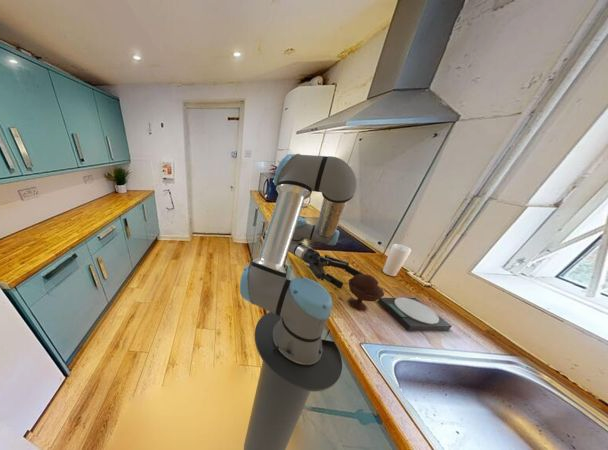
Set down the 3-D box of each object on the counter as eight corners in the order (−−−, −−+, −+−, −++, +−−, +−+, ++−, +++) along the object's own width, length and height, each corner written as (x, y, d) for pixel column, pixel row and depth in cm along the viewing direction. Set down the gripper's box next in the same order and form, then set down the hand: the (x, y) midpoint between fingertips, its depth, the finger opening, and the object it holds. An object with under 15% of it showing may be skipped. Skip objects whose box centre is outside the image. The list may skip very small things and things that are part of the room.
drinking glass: (385, 268, 102) (397, 242, 96) (401, 276, 96) (415, 249, 90) (377, 270, 100) (389, 245, 94) (392, 279, 94) (406, 252, 88)
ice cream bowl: (381, 318, 73) (398, 287, 67) (348, 313, 75) (362, 282, 69) (365, 297, 83) (379, 268, 76) (336, 293, 84) (348, 264, 78)
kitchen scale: (407, 330, 69) (411, 324, 67) (377, 302, 80) (380, 296, 79) (448, 330, 69) (453, 324, 68) (412, 302, 81) (415, 296, 80)
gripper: (322, 255, 103) (366, 280, 86) (287, 267, 93) (329, 297, 76) (326, 242, 100) (372, 265, 83) (290, 253, 90) (335, 282, 73)
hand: (352, 281), depth 79 cm, fingers open, 13 cm apart
